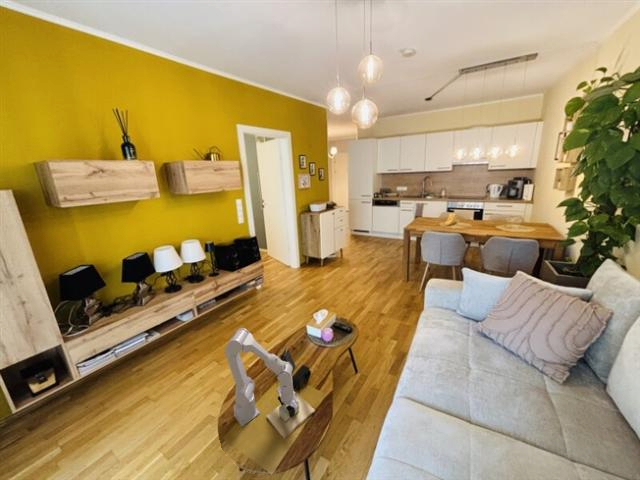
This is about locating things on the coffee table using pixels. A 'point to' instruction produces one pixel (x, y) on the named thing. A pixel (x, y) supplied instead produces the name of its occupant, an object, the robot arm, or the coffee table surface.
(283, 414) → the block
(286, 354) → the phone stand
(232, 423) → the coffee table surface
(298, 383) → the digital camera
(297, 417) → the birch board
